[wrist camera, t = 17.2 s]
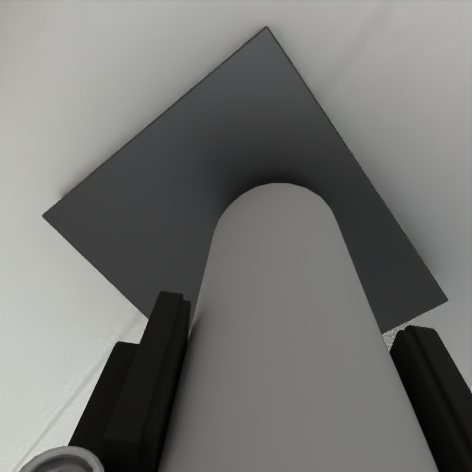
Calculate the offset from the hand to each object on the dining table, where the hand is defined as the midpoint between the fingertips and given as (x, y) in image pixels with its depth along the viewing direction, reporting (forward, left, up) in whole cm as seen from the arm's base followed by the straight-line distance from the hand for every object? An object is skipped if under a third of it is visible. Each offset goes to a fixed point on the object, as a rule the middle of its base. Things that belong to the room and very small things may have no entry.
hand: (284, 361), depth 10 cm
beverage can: (0, 0, -7) cm, 7 cm away
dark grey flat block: (-1, +2, -10) cm, 10 cm away
